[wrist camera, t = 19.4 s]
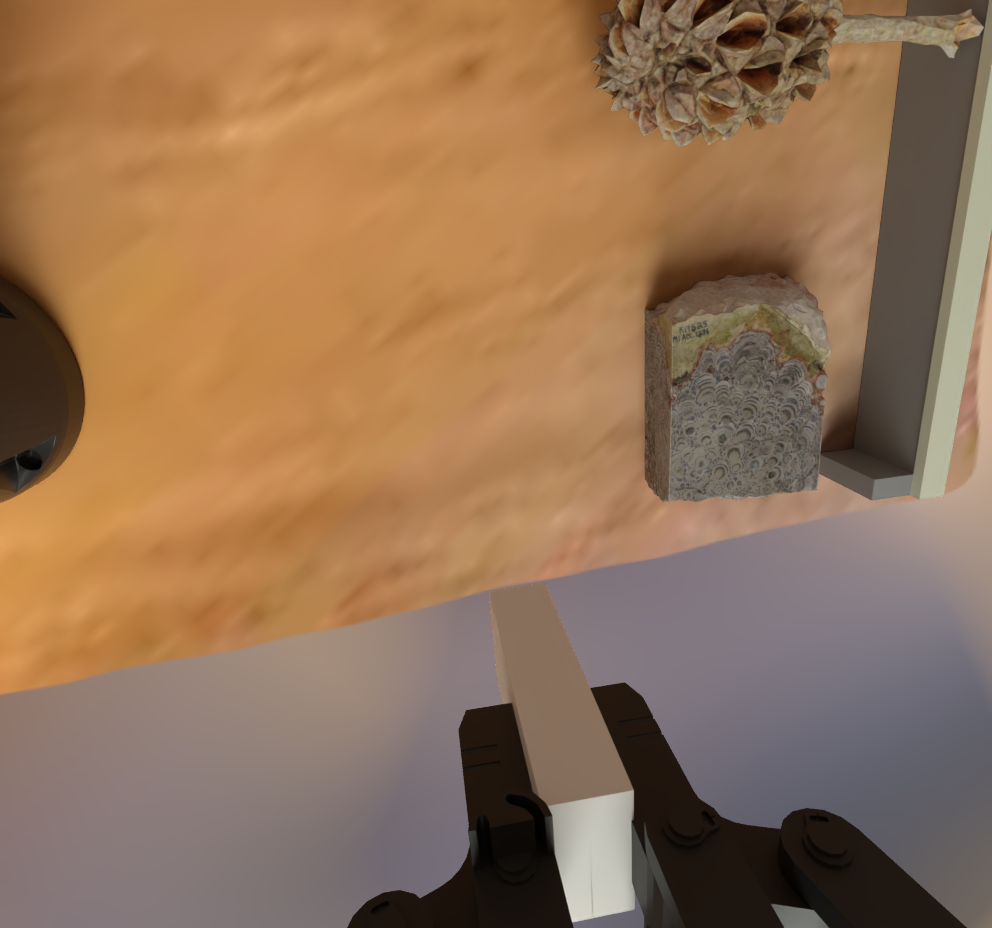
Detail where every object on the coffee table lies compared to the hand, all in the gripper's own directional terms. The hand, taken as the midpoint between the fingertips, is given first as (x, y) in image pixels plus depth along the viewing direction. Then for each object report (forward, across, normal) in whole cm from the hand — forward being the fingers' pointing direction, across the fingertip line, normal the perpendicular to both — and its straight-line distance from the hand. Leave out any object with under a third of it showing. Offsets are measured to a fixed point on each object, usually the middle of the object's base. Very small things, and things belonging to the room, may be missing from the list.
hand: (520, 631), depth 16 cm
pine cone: (+27, -20, -20) cm, 39 cm away
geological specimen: (+27, -19, +1) cm, 33 cm away
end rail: (+26, -30, -11) cm, 41 cm away
